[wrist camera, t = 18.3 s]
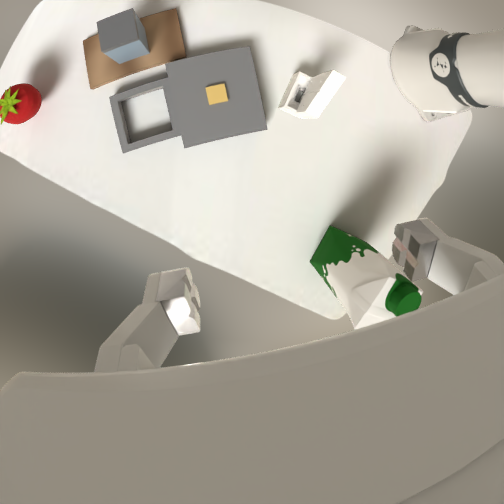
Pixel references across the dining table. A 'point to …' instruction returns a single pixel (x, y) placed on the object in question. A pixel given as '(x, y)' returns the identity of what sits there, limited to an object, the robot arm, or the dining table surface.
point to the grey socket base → (202, 99)
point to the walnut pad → (161, 52)
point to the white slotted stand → (310, 93)
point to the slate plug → (123, 36)
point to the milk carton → (363, 279)
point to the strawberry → (19, 103)
